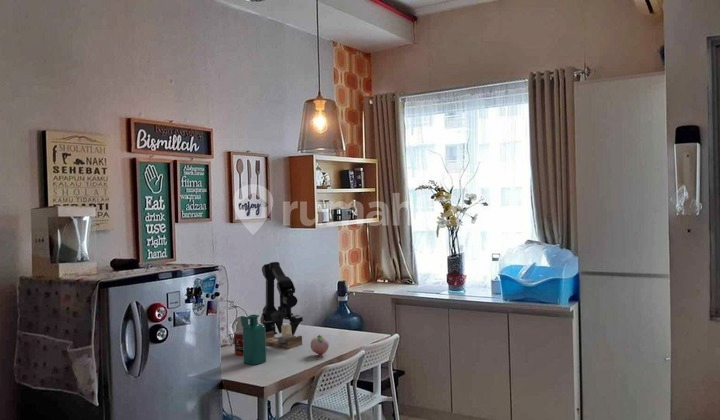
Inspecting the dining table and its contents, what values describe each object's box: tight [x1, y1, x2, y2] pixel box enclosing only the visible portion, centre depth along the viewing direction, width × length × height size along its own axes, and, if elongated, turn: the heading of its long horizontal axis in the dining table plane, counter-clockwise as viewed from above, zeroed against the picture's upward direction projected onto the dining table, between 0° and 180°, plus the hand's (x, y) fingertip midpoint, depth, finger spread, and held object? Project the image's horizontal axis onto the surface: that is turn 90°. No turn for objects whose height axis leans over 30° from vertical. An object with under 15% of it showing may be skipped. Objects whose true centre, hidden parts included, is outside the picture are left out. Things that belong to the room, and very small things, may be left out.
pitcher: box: [240, 314, 267, 366], centre depth 273 cm, size 10×8×22 cm
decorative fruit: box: [310, 334, 330, 357], centre depth 282 cm, size 9×8×10 cm
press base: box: [265, 331, 303, 350], centre depth 307 cm, size 22×10×4 cm, turn 52°
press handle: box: [277, 323, 297, 344], centre depth 304 cm, size 6×7×8 cm
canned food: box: [233, 329, 244, 357], centre depth 290 cm, size 8×8×11 cm
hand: (286, 334), depth 304 cm, fingers open, 9 cm apart
